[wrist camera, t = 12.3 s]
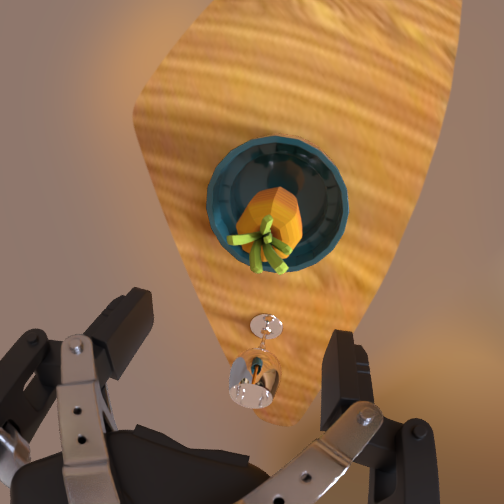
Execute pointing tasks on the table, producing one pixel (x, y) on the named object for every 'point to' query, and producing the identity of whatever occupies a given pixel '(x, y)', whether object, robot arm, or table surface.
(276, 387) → the wineglass
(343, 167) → the table surface
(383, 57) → the table surface
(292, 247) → the carrot
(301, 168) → the bowl
